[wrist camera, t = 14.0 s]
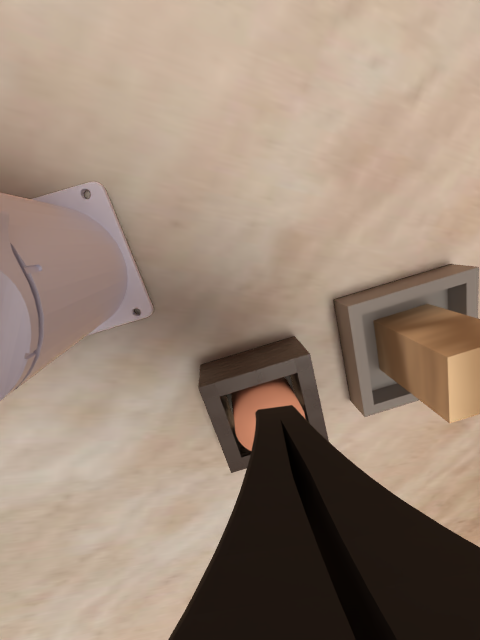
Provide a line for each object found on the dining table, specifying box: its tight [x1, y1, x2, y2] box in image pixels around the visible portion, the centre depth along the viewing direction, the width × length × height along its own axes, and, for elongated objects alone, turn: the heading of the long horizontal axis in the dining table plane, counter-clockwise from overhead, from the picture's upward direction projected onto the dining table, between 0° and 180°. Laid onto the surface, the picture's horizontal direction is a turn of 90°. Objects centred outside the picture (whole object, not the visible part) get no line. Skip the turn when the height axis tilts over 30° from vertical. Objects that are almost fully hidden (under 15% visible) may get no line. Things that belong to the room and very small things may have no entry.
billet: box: [374, 304, 480, 423], centre depth 16 cm, size 4×4×6 cm
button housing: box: [199, 336, 329, 473], centre depth 18 cm, size 7×7×3 cm
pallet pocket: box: [334, 264, 479, 417], centre depth 18 cm, size 9×9×2 cm
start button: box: [232, 377, 305, 451], centre depth 17 cm, size 4×4×3 cm
